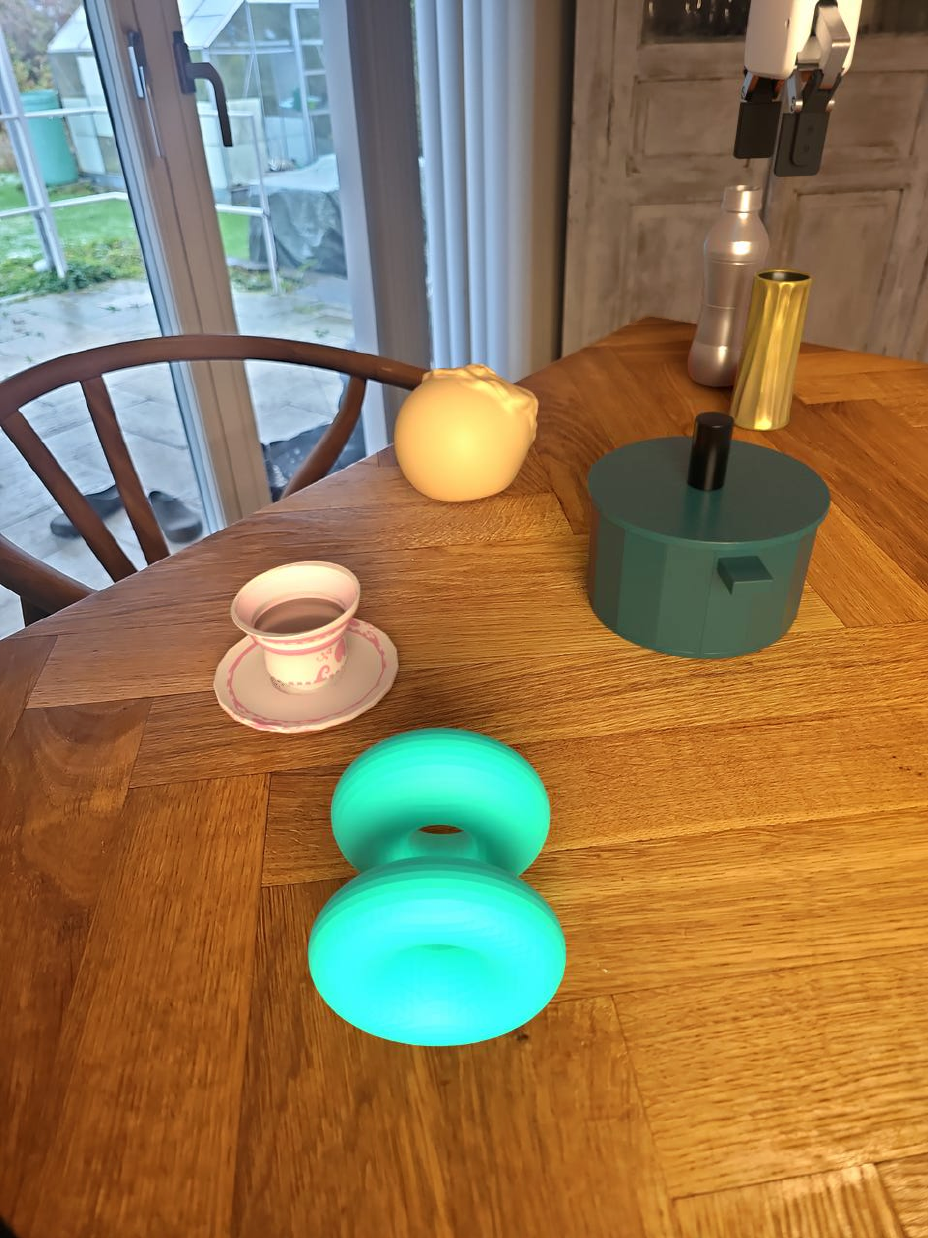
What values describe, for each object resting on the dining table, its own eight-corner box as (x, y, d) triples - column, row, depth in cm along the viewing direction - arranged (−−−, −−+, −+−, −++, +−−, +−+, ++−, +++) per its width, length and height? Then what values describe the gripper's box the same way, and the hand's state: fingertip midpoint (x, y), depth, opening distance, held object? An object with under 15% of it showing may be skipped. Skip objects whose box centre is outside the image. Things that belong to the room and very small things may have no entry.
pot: (742, 524, 70) (759, 426, 65) (847, 677, 53) (881, 562, 49) (566, 535, 69) (570, 437, 64) (618, 693, 53) (629, 578, 48)
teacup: (349, 755, 49) (336, 673, 46) (176, 712, 53) (152, 633, 49) (427, 638, 58) (421, 561, 55) (275, 608, 62) (261, 534, 58)
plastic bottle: (698, 369, 100) (723, 180, 88) (754, 380, 97) (788, 185, 85) (675, 386, 96) (698, 190, 84) (733, 398, 92) (765, 195, 81)
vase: (746, 404, 91) (770, 263, 82) (800, 419, 87) (830, 273, 79) (715, 421, 87) (736, 276, 79) (769, 437, 84) (798, 286, 75)
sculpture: (554, 478, 78) (557, 362, 72) (471, 530, 70) (467, 405, 64) (458, 448, 84) (454, 338, 78) (373, 493, 77) (361, 376, 70)
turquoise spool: (321, 1062, 35) (283, 913, 29) (347, 864, 43) (322, 716, 37) (564, 1058, 35) (575, 906, 29) (544, 859, 43) (550, 710, 37)
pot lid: (775, 445, 63) (789, 370, 60) (870, 551, 51) (895, 463, 47) (568, 457, 63) (571, 382, 60) (612, 567, 50) (619, 480, 47)
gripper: (941, -146, 49) (867, 181, 59) (825, -109, 63) (781, 150, 73) (813, -142, 49) (761, 185, 59) (725, -106, 63) (695, 153, 73)
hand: (772, 166), depth 66 cm, fingers open, 9 cm apart
